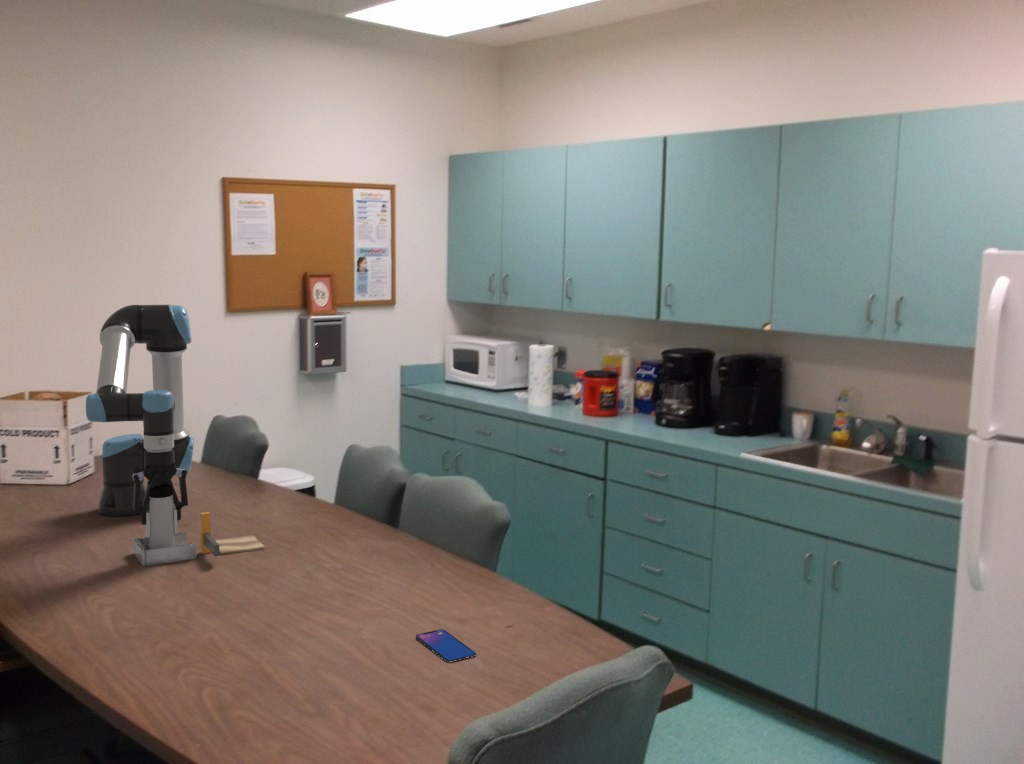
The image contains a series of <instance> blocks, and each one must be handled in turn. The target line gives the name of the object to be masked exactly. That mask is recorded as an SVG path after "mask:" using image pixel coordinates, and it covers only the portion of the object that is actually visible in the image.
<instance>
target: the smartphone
mask: <svg viewBox="0 0 1024 764" xmlns="http://www.w3.org/2000/svg"><path fill="white" fill-rule="evenodd" d="M416 638H417V639H418V640H420V641H421V642H422V643H423V644H425V645H424V646H425V647H426V646H427V647H429V648H430V649H431V650H433V651H434V652H435V653H437V654H438V655H439V656H440V657H442V658H443V659H445V660H446V661H454V660H459V659H462V660H464V659H463V658H466V657H468V656H469V657H471V656H474V655H476V656H477V653H476V651H474V650H472V649H471V648H470V647H469V646H467V645H466V644H464V643H463V642H461V640H459V639H458V638H456V637H455V636H454V635H452V634H451V633H450V632H448V631H447V630H446V629H442V628H441V629H436V630H431V631H427V632H421V633H417V634H416V635H415V639H416ZM417 639H416V640H417ZM418 640H417V641H418ZM421 642H420V643H421ZM422 643H421V644H422ZM423 644H422V645H423ZM427 647H426V648H427ZM430 649H429V650H430ZM431 650H430V651H431ZM434 652H433V653H434ZM435 653H434V654H435ZM438 655H437V656H438ZM439 656H438V657H439ZM440 657H439V658H440ZM443 659H442V660H443Z"/></svg>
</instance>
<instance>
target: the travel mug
mask: <svg viewBox="0 0 1024 764" xmlns="http://www.w3.org/2000/svg"><path fill="white" fill-rule="evenodd" d="M172 491H173V490H172V485H171V486H169V487H168V486H167V484H159V485H155V488H154V489H152V488H150V502H149V505H148V512H149V513H150V537H149V549H155V548H162V547H169V546H174V513H173V508H174V503H173V492H172Z"/></svg>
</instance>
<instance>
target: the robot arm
mask: <svg viewBox="0 0 1024 764" xmlns="http://www.w3.org/2000/svg"><path fill="white" fill-rule="evenodd" d="M190 325H191V324H190V320H189V314H188V311H187V309H186V307H185V306H183V305H176V304H175V305H174V304H129V305H125V306H123V307H121V308H119V309H118V310H115V312H113V313H112V314H111V315H110V316H109V317H108V318H107V319H106V321H104V323H103V324H102V327H101V329H100V333H99V341H100V345H101V347H102V348H101V355H100V361H99V370H98V377H97V385H96V392H95V393H90V394H87V396H86V398H85V414H86V419H87V421H88V422H91V423H94V422H95V423H118V422H121V423H122V422H142V423H143V424H142V425H143V431H142V432H143V435H142V434H141V433H136V434H135V433H129V434H121V435H118V436H114V437H111V438H109V439H106V440H105V441H104V443H102V454H101V458H102V476H103V477H102V479H103V480H102V481H103V488H102V492H101V494H100V498H99V500H98V505H97V507H98V508H97V511H98V513H99V514H100V515H102V516H103V515H104V516H109V517H123V516H124V517H125V516H133V515H134V516H135V515H138V514H140V523H141V525H142V526H144V530H145V531H144V532H145V533H144V535H145V536H146V537H150V513H149V512H148V505H149V502H150V488H152V489H154V488H155V485H159V484H167V486H168V487H169V486H171V485H172V490H173V491H172V492H173V513H174V534H177V533H179V532H178V521H181V519H182V508H184V507H187V506H188V505H189V500H188V492H187V491H188V490H187V482H186V481H187V480H186V477H187V475H188V473H189V472H190V471H191V469H192V468H191V467H192V460H193V453H194V444H195V439H194V437H191V436H190V432H189V430H188V429H186V428H185V426H184V425H185V420H184V389H183V388H184V387H183V359H182V357H183V353H184V352H186V350H188V347H187V346H188V345H189V344H191V343H192V334H191V333H192V332H191V326H190ZM135 344H141V345H142V344H145V346H146V347H145V349H146V351H147V352H148V353H150V355H151V363H152V364H151V365H152V367H151V368H152V390H148V391H144V392H142V393H141V392H137V393H136V392H135V393H133V392H132V393H130V392H129V393H127V392H128V391H127V389H128V380H129V370H130V369H129V367H130V358H131V349H132V348H133V347H134V346H135ZM175 476H177V477H178V483H179V492H180V500H179V498H178V495H177V492H176V489H175V487H174V484H173V482H172V479H173V477H175ZM144 477H145V478H146V479H147V485H146V487H145V479H144Z"/></svg>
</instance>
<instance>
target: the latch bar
mask: <svg viewBox="0 0 1024 764" xmlns="http://www.w3.org/2000/svg"><path fill="white" fill-rule="evenodd" d="M211 522H212V521H211V512H210V511H206V512H200V513H199V525H200V528H199V531H200V536H199V537H200V553H201V554H210V553H211V554H212V556H214V557H220V555H221V554H220V553H219V544H218V543H217V542H216V541H215V540H216V539H215V538H213V536H212V535H211V534H212V531H211V530H212V528H211V525H212V523H211Z"/></svg>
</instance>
